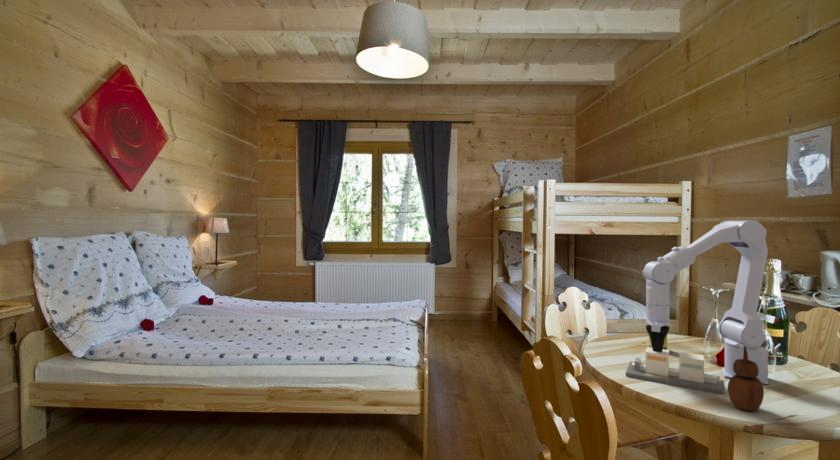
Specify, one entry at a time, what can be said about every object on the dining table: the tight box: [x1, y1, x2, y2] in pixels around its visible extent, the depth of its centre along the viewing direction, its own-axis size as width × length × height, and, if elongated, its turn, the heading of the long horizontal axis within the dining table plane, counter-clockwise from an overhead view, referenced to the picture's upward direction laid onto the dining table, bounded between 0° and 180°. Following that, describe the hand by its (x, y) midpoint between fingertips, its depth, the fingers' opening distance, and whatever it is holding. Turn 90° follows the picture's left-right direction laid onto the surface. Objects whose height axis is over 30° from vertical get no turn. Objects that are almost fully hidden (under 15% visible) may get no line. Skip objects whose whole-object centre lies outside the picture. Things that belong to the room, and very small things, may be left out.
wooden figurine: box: [727, 346, 765, 412], centre depth 93 cm, size 7×6×15 cm
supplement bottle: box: [648, 334, 668, 350], centre depth 137 cm, size 5×5×10 cm
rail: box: [625, 351, 723, 395], centre depth 112 cm, size 22×11×7 cm, turn 56°
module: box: [645, 346, 670, 377], centre depth 114 cm, size 6×5×6 cm
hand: (657, 351), depth 114 cm, fingers closed, pressing on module
